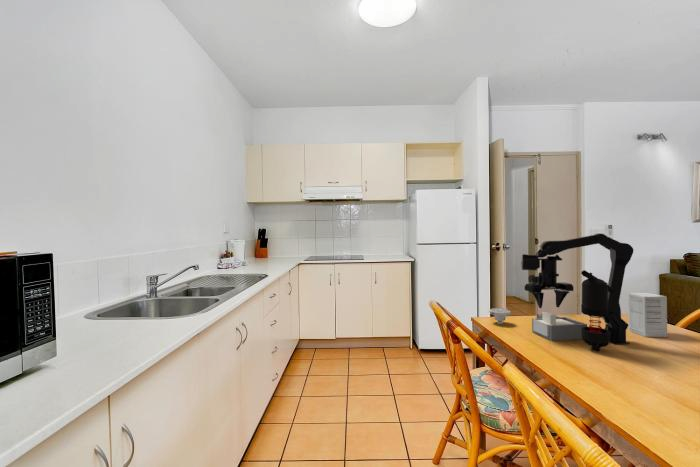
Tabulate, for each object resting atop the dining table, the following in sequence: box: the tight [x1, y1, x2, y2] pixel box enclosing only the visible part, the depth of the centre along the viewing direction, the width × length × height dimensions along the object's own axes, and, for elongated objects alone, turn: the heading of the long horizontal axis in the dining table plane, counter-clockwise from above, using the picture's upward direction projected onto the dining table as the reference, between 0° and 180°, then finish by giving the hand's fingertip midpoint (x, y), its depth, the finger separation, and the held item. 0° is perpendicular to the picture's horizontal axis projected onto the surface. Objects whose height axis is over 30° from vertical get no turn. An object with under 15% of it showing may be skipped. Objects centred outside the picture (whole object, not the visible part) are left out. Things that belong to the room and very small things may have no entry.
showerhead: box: [488, 307, 512, 325], centre depth 166 cm, size 9×7×10 cm
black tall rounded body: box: [580, 269, 614, 352], centre depth 129 cm, size 14×9×30 cm
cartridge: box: [532, 311, 574, 337], centre depth 147 cm, size 9×13×8 cm
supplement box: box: [627, 292, 668, 338], centre depth 148 cm, size 10×9×17 cm
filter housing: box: [531, 313, 588, 342], centre depth 150 cm, size 18×16×6 cm
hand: (548, 307), depth 146 cm, fingers open, 8 cm apart
